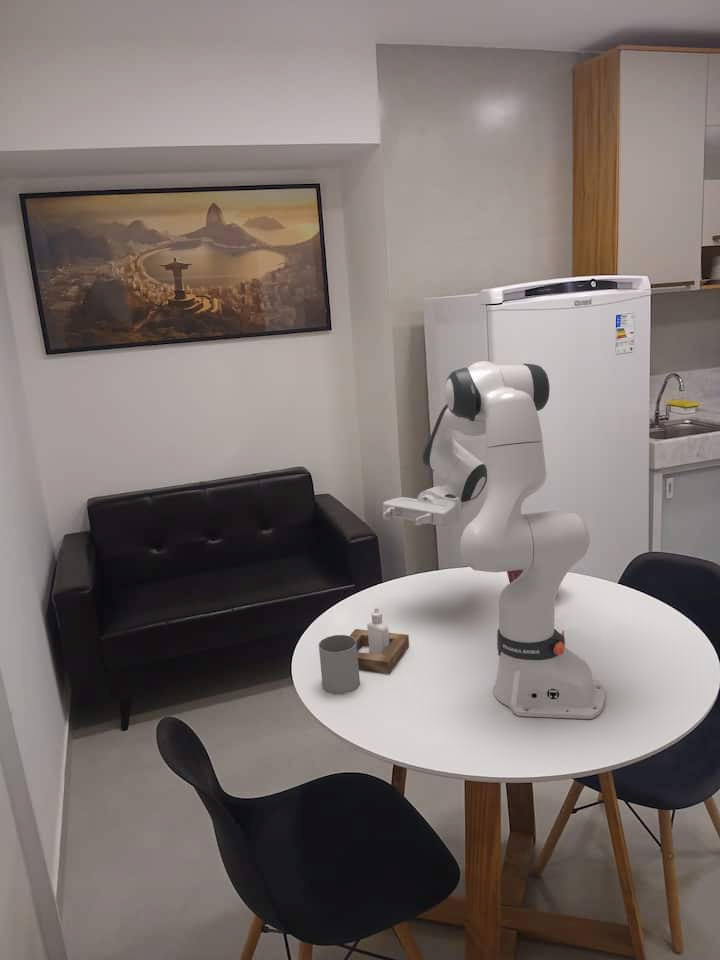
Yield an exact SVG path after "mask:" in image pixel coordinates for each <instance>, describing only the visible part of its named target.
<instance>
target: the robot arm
mask: <svg viewBox="0 0 720 960" xmlns="http://www.w3.org/2000/svg"><path fill="white" fill-rule="evenodd" d="M549 381H550V380H549V376H548V374H547V372H546V370H545V369H543V367H542V366H541V365H538V364H533V363H523V364H496V363H494V362H491V361H486V360H481V361H476V362H473V364H470V366H468V367H464V368H459V369H456V370H454V371H452V372H451V373H450V374H449V375H448V377H447V378H446V384H445V388H444V397H445V403H446V404H445V405H444V406H443V407H442V409H441V411H440V413H439V415H438V417H437V420H436V422H435V425H434V427H433V429H432V432H431V435H430V437H429V439H428V441H427V442H426V444H425V446H424V447H423V449H422V461H423V465H424V466H426V467H427V468H428V469H430V470H432V471H433V472H435V473H436V474H437V475H439V477H441V479H443V480H445V481H446V482H443V483H441V484H440V485H436V486H434V487H430V488H428V489H425V490H423V491H421V492H420V493H419V494H418V496H417V498H412V497H411V498H410V497H407V496H403V497H401V496H400V497H395V498H391V499H388V500H386V501H383V503H382V511H383V513H382V518H383V520H387V521H390V520H392V519H393V518H395V519H401V520H407V521H412V525H413V526H421V525H426V524H427V525H428V524H429V525H430V524H431V525H435V526H441V527H447V526H451V525H453V524H457V523H460V522H462V512H463V511H466V510H467V509H468V508H470V507H471V506H473V504H475V503H476V501H477V500H478V498H479V495H480V494H481V493H482V491H483V490H484V488H485V487H486V485H487V481H488V488H487V494H486V497H485V500H484V503H483V504H482V506H481V509H480V510H479V512H478V513H477V515H476V516H475V517H474V518H473V519H472V520H471V521H470V522H469V523H468V524H467V525H466V526H465V528H464V529H463V532H462V534H461V536H460V540H459V541H460V543H459V545H460V547H459V548H460V553H461V555H462V559H463V560H464V562H465V563H466V564H467V566H469V567H470V568H471V569H472V570H473V571H477V572H485V573H503V572H507V571H514V570H523V569H524V570H523V572H522V574H521V575H520V576H519V577H518V578H517V579H516V580H514V581H513V582H511V583H510V582H509V584H507V585H506V586H505V587H504V588H503V589H502V590H501V592H500V595H499V596H498V597H499V598H498V625H499V626H498V630H497V633H496V647H497V648H496V649H497V655H498V656H499V657H498V665H497V667H498V668H497V675H496V678H495V682H494V686H493V695H494V697H495V698H496V699H497V700H498V701H499V703H502V705H505V706H507V707H508V708H510V710H511V711H512V712H513V713H514V714H515V715H516V716H518V717H528V718H529V717H534V718H556V719H561V718H562V719H582V720H585V719H586V720H590V719H591V720H593V719H594V718H596V717H598V716H599V715H600V714H601V713H602V711H603V710H604V708H605V704H606V691H605V688H604V686H603V685H602V683H600V682H599V681H598V680H595V679H594V677H593V674H592V670H591V667H590V666H589V664H588V663H587V662H586V660H584V659H582V658H581V657H579V656H578V655H576V654H575V653H574V652H572V651H570V650H569V649H568V648H566V639H565V638H566V637H565V631H564V630H562V631H561V633H560V632H559V631H558V630H557V629H555V614H556V613H555V609H556V598H557V594H558V592H559V589H560V586H561V584H562V582H563V580H564V578H565V576H567V574H568V573H569V571H570V570H571V569H572V568H573V567H574V566H575V565H576V564H577V563H578V562H580V561H581V560H582V559H584V557H585V555H587V552H588V550H589V548H590V544H591V543H590V542H591V535H590V530H589V528H588V526H587V524H586V522H585V521H584V519H583V518H582V517H581V516H580V515H579V514H577V513H573V512H565V511H555V510H552V511H542V512H531V513H524V514H523V513H522V506H523V503H524V501H525V500H526V498H529V497H530V496H532V495H533V494H534V493H537V492H538V491H539V490H540V489H541V488H542V487H543V486H544V483H545V482H546V480H547V470H546V460H545V458H546V457H545V452H544V440H543V432H542V428H541V422H540V418H539V414H538V412H539V411H541V410H543V409H544V408H545V406H546V405H547V403H548V401H549V398H550V382H549ZM455 431H456V432H459V433H460V434H463V435H465V436H469V437H470V436H471V437H479V436H483V435H485V441H486V451H487V462H488V463H487V464H488V467H487V465H486V464H485V463H483V462H482V461H481V460H480V459H479V458H477V457H476V456H475V455H474V454H473V453H471V452H469V451H468V450H467V449H466V448H464V447H463V445H461V444H460V443H458V442H457V441H456V439H454V437H453V434H454V432H455ZM487 468H488V470H487Z"/></svg>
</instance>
